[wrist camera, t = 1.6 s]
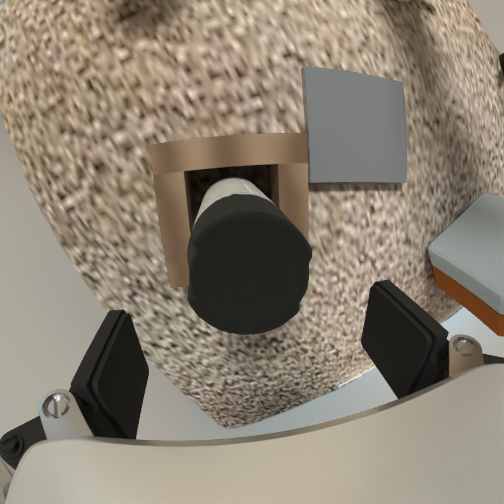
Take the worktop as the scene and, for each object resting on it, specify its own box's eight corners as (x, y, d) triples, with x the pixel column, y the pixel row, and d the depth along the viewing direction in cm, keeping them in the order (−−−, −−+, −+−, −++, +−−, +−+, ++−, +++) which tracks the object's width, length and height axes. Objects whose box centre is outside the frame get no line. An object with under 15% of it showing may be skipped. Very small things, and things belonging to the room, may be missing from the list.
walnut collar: (293, 135, 29) (306, 133, 25) (295, 257, 35) (307, 274, 30) (161, 145, 28) (150, 144, 23) (176, 268, 33) (170, 287, 29)
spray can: (199, 227, 32) (177, 334, 13) (207, 170, 30) (185, 202, 11) (255, 234, 33) (301, 342, 14) (265, 178, 31) (335, 223, 12)
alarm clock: (433, 284, 40) (511, 350, 21) (422, 246, 37) (519, 311, 18) (489, 228, 38) (565, 268, 19) (483, 189, 35) (570, 223, 16)
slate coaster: (397, 83, 27) (402, 82, 26) (401, 181, 33) (406, 182, 31) (301, 68, 26) (304, 66, 25) (307, 181, 31) (310, 182, 30)
